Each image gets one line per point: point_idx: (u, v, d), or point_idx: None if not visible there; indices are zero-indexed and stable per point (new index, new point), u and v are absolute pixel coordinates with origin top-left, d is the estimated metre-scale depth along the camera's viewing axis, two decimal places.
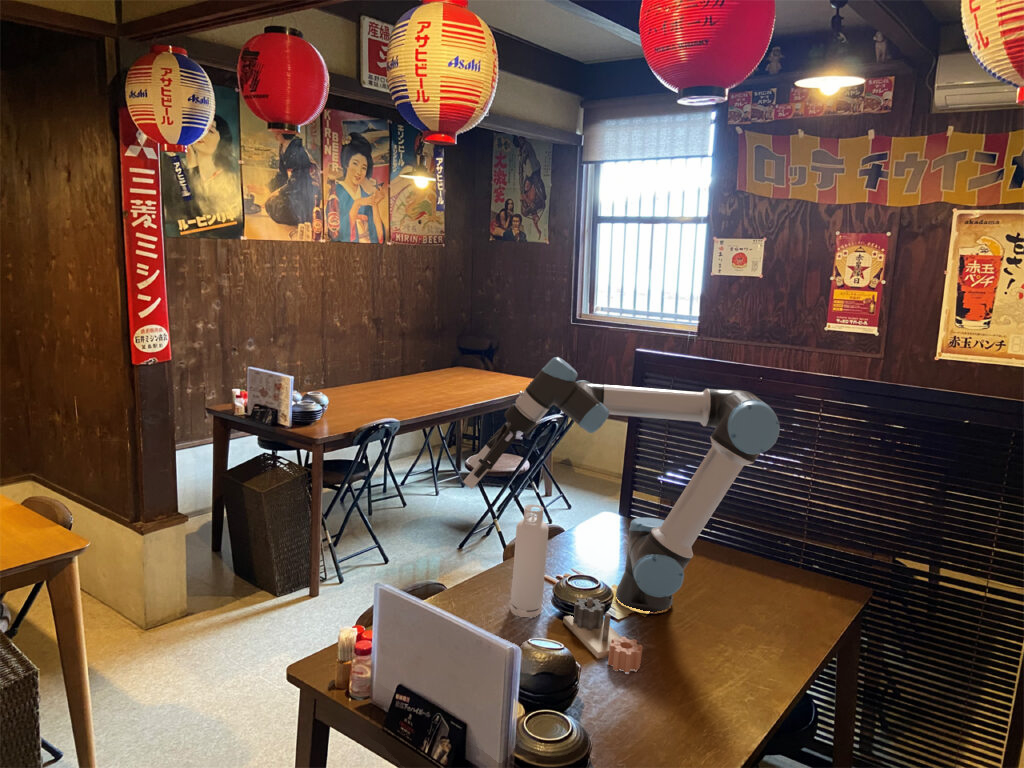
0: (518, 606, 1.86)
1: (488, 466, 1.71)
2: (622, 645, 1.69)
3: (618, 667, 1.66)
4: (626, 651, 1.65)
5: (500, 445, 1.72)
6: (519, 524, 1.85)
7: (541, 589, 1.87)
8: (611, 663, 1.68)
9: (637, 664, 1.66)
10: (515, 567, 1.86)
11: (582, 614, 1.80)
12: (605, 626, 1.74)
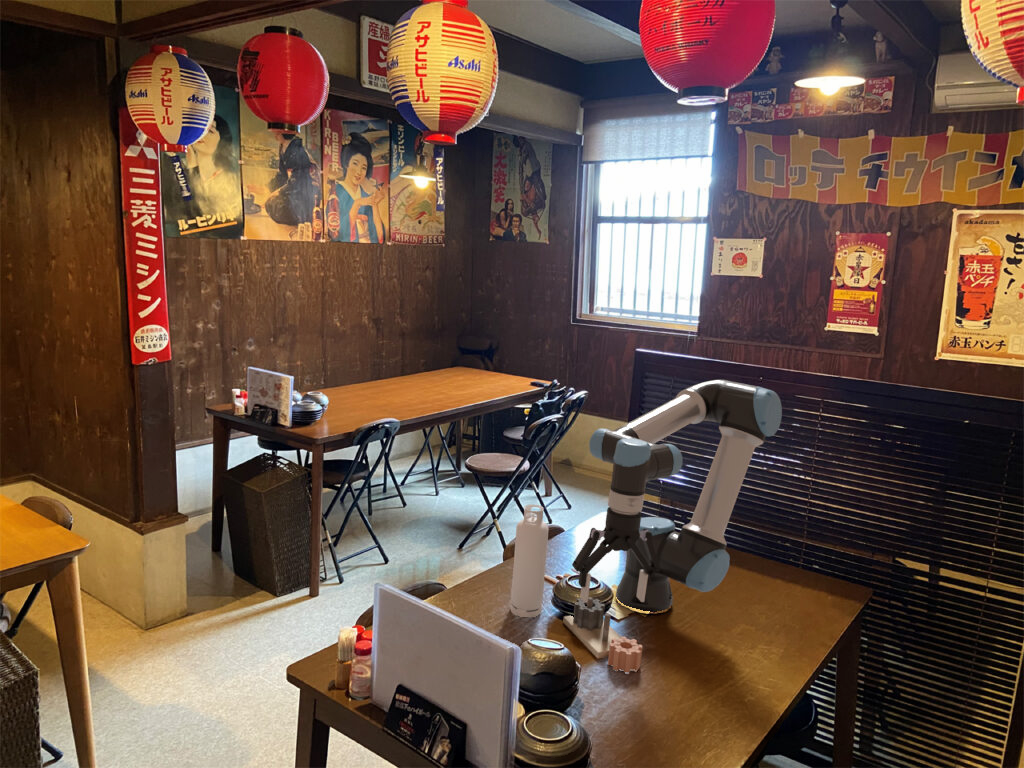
0: (518, 606, 1.86)
1: None
2: (622, 645, 1.69)
3: (618, 667, 1.66)
4: (626, 651, 1.65)
5: None
6: (519, 524, 1.85)
7: (541, 589, 1.87)
8: (611, 663, 1.68)
9: (637, 664, 1.66)
10: (515, 567, 1.86)
11: (582, 614, 1.80)
12: (605, 626, 1.74)
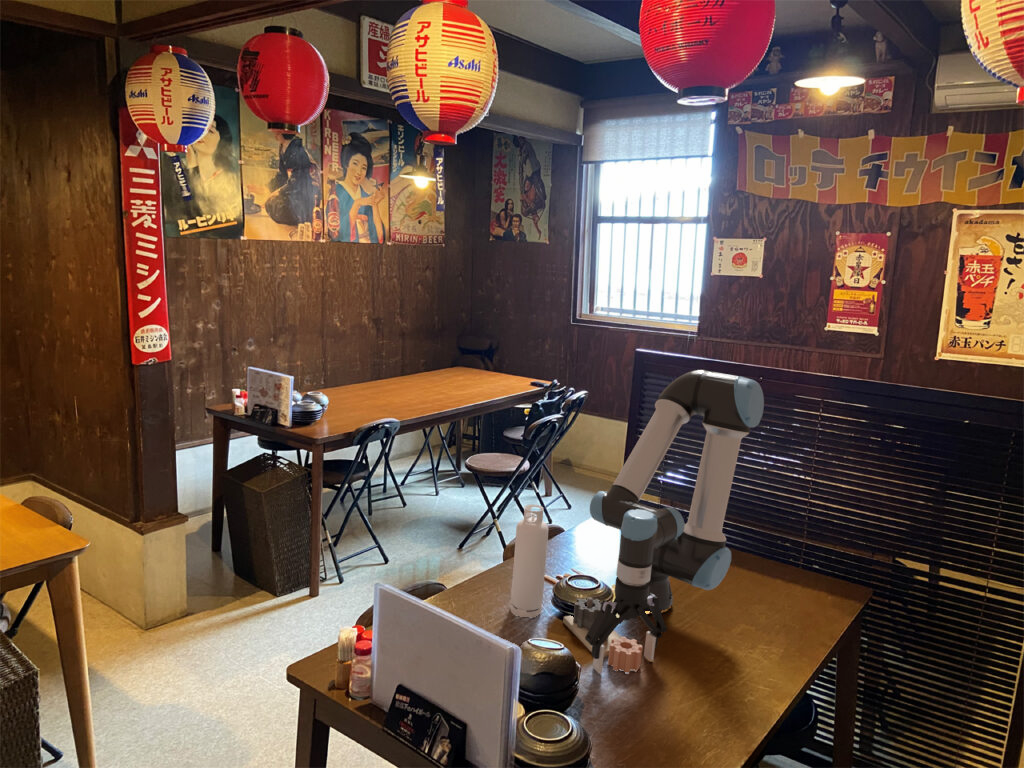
0: (518, 606, 1.86)
1: None
2: (622, 645, 1.69)
3: (618, 667, 1.66)
4: (626, 651, 1.65)
5: None
6: (519, 524, 1.85)
7: (541, 589, 1.87)
8: (611, 663, 1.68)
9: (637, 664, 1.66)
10: (515, 567, 1.86)
11: (582, 614, 1.80)
12: None
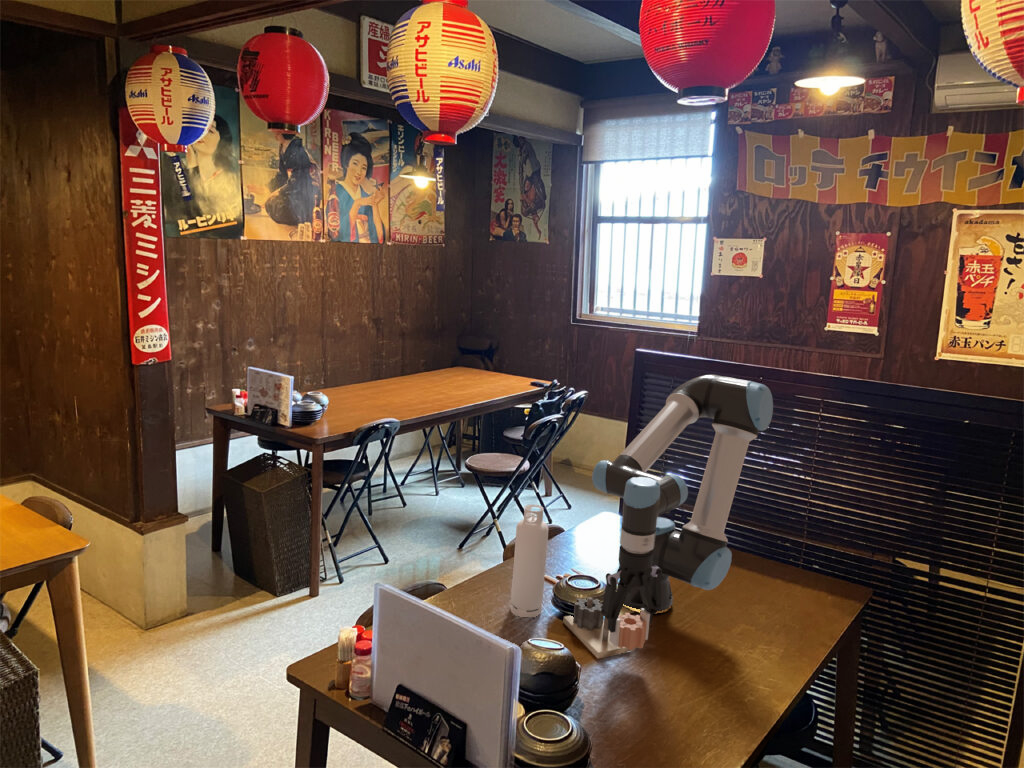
0: (518, 606, 1.86)
1: None
2: (626, 621, 1.68)
3: (622, 643, 1.65)
4: (630, 627, 1.64)
5: None
6: (519, 524, 1.85)
7: (541, 589, 1.87)
8: None
9: (641, 640, 1.65)
10: (515, 567, 1.86)
11: (582, 614, 1.80)
12: (605, 626, 1.74)
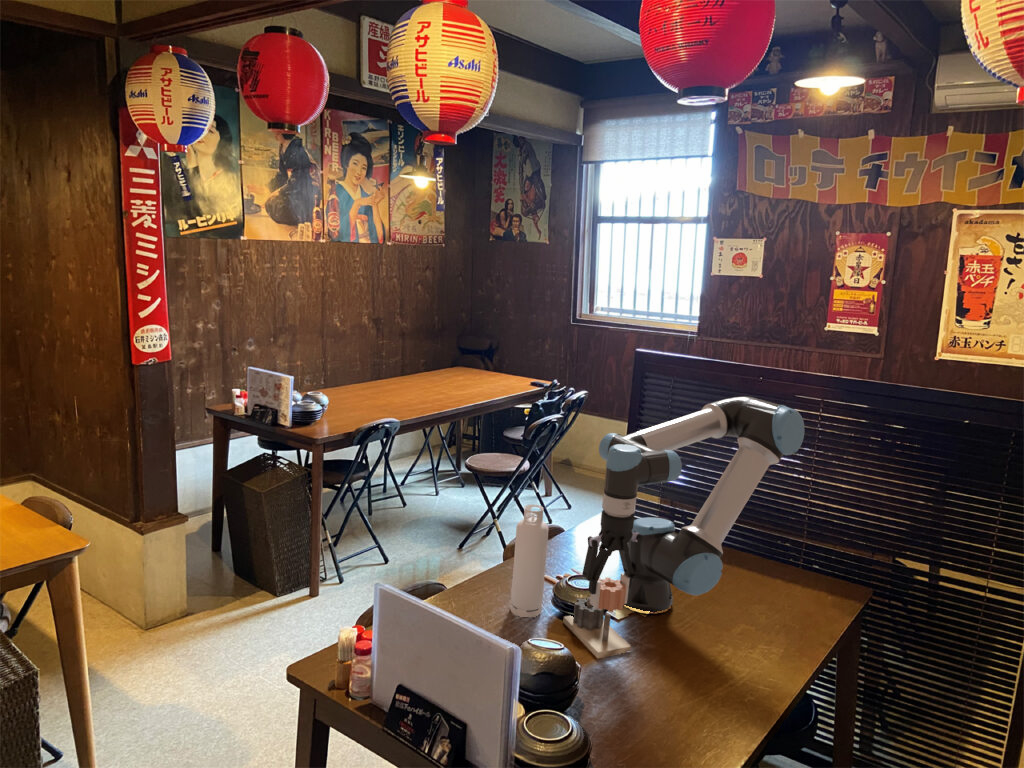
0: (518, 606, 1.86)
1: None
2: (607, 585, 1.74)
3: (602, 605, 1.71)
4: (610, 589, 1.70)
5: None
6: (519, 524, 1.85)
7: (541, 589, 1.87)
8: None
9: (621, 602, 1.71)
10: (515, 567, 1.86)
11: (582, 614, 1.80)
12: (605, 626, 1.74)
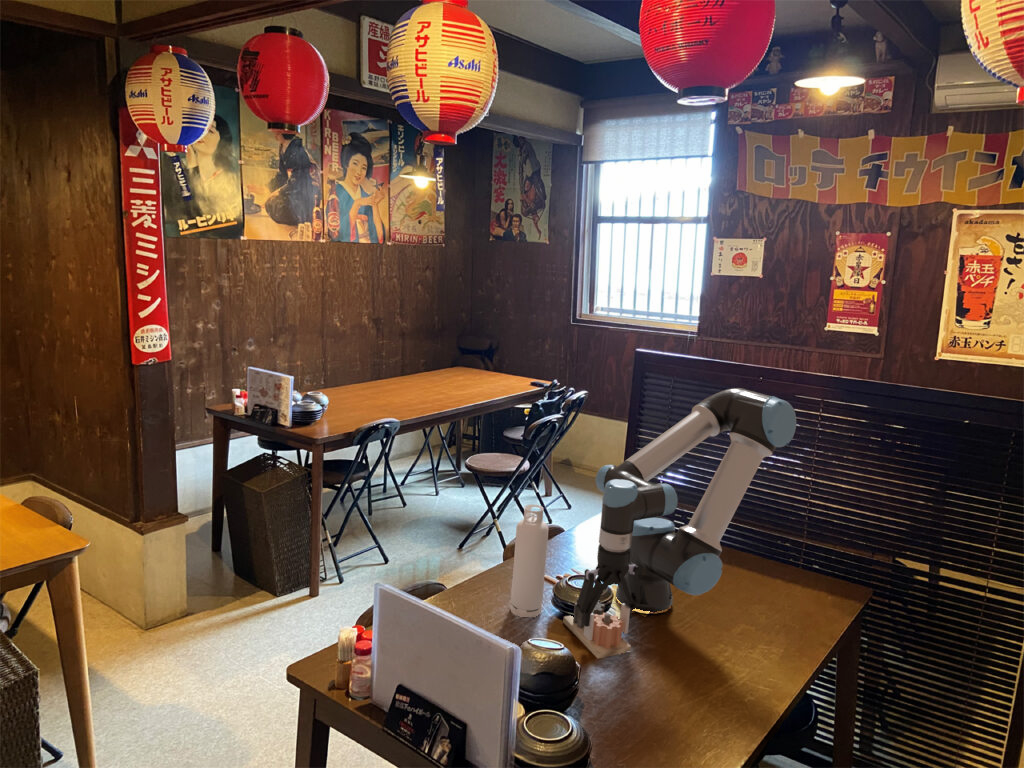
0: (518, 606, 1.86)
1: None
2: (603, 621, 1.76)
3: (599, 641, 1.73)
4: (607, 626, 1.72)
5: None
6: (519, 524, 1.85)
7: (541, 589, 1.87)
8: (593, 638, 1.75)
9: (617, 638, 1.73)
10: (515, 567, 1.86)
11: (582, 614, 1.80)
12: None
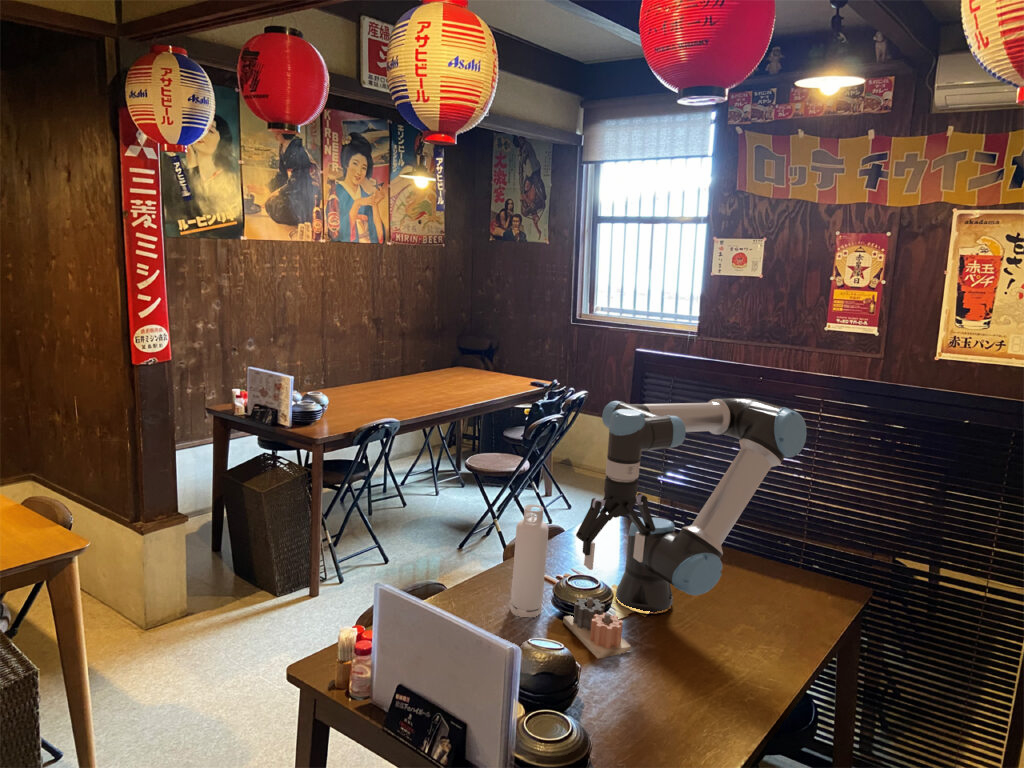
0: (518, 606, 1.86)
1: None
2: (603, 621, 1.76)
3: (599, 641, 1.73)
4: (607, 626, 1.72)
5: None
6: (519, 524, 1.85)
7: (541, 589, 1.87)
8: (593, 638, 1.75)
9: (617, 638, 1.73)
10: (515, 567, 1.86)
11: (582, 614, 1.80)
12: None
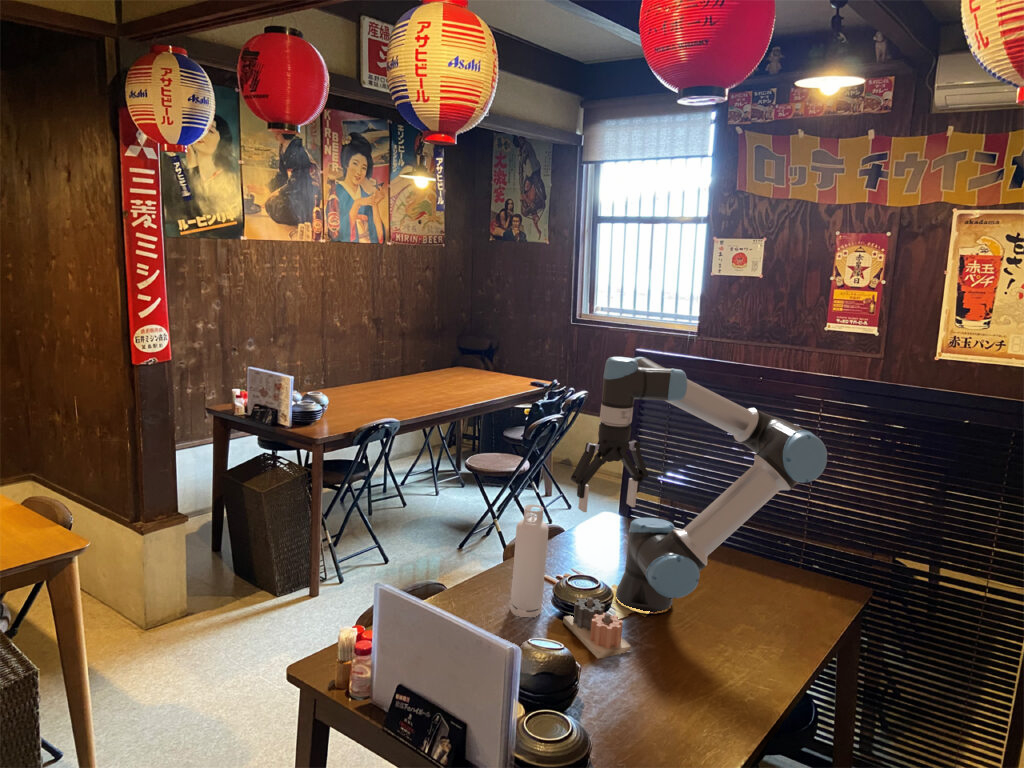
0: (518, 606, 1.86)
1: None
2: (603, 621, 1.76)
3: (599, 641, 1.73)
4: (607, 626, 1.72)
5: None
6: (519, 524, 1.85)
7: (541, 589, 1.87)
8: (593, 638, 1.75)
9: (617, 638, 1.73)
10: (515, 567, 1.86)
11: (582, 614, 1.80)
12: None
